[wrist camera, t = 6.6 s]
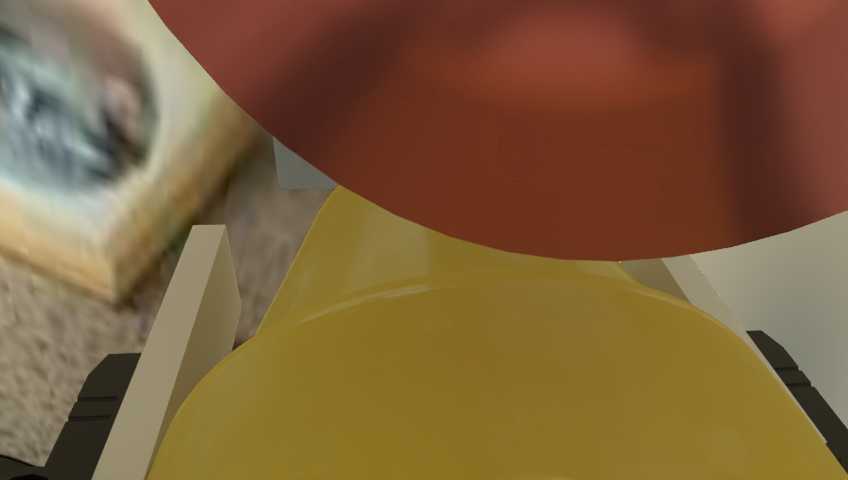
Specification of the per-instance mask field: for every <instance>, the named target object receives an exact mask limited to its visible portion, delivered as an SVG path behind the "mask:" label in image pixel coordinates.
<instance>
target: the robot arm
mask: <svg viewBox="0 0 848 480" xmlns="http://www.w3.org/2000/svg"><path fill="white" fill-rule="evenodd" d="M620 264H621V265H622V266H623V267H624V268H625V269H626V270H627V271H628V272H629V273H630V274H631V275H632V276H633V277H634V278H635V279H636V280H637V281H638V282H639V283H640V284H642V285H644V286H647V287H650V288H653V289H656V290H659V291H662V292H664V293H667V294H670V295H673V296H675V297H677V298H679V299H682V300H684V301H686V302H688V303H690V304H692V305H694V306H695V307H697V308H699V309H701V310H703V311H704V312H706V313H708V314H710V315H711V316H713V317H714V318H716V319H717V320H719V321H720V322H721V323H723V324H724V325H726V326H727V327H728V328H729V329H730V330H732V331H733V332H734V333H735V334H737V335H738V336H739V337H740V338H741V339H743V341H744V342H745V343H746V344H747V345H748V346H749V347H750V348H751V349H752V350H753V351H754V352H755V353H756V355H757V356H758V357H759V358H760V360H761V361H762V362H763V363H764V364H765V366H766V367H767V368H768V369H769V371H770V372H771V373H772V374H773V375H774V377H775V378H776V379H777V380H778V382H779V383H780V384H781V385H782V387H783V388H784V389H785V390H786V392H787V393H788V394H789V396H790V397H791V398H792V400H793V401H794V402H795V404H796V405H797V406H798V408H799V409H800V410H801V412H802V413H803V414H804V415H805V417H806V418H807V420H808V421H809V422H810V424H811V425H812V426H813V428H814V429H815V430H816V432H817V433H818V435H819V436H820V437H821V439H822V440H823V441H824V443H825V444H826V445H827V447H828V448H829V450H830V451H831V452H832V454H833V455H834V456H835V458H836V459H837V460H838V462H839V463H840V465H841V466H842V467H843V469H844V470H845V472H846V473H847V474H848V429H847V428H846V427H845V425H844V424H843V423H842V422H841V420H840V419H839V418H838V417H837V415H836V414H835V413H834V412H833V410H832V409H831V408H830V406H829V405H828V404H827V402H826V401H825V400H824V399H823V397H822V396H821V395H820V394H819V392H818V391H817V390H816V389H815V387H812V386H811V382H810V381H809V380H808V378H807V377H806V376H805V374H804V373H803V372H802V371H799V369H798V366H797V364H796V363H795V362H794V360H793V359H792V358H791V357H790V355H789V354H788V353H787V351H786V350H785V349H784V348H783V347H782V346H781V345H779V344H778V343H777V342H776V341H774V340H773V339H772V338H770V337H769V336H768V335H766V334H765V333H764V332H763V331H745V330H744V328H743V327H742V326H741V324H740V323H739V322H738V320H737V319H736V318H735V316H734V315H733V314H732V312H731V311H730V309H729V308H728V307H727V305H726V304H725V303H724V301H723V300H722V299H721V297H720V296H719V295H718V293H717V292H716V290H715V289H714V288H713V286H712V285H711V284H710V282H709V281H708V280H707V278H706V277H705V276H704V274H703V273H702V272H701V270H700V269H699V267H698V266H697V265H696V263H695V262H694V261H693V259H692V258H691V257H690V255H683V256H677V257H669V258H656V259H642V260H629V261H621V263H620ZM241 310H242V305H241V300H240V295H239V290H238V285H237V280H236V275H235V270H234V265H233V260H232V254H231V249H230V244H229V239H228V234H227V229H226V225H193V227H192V229H191V232H190V234H189V237H188V239H187V242H186V244H185V247H184V249H183V252H182V254H181V257H180V259H179V262H178V264H177V267H176V269H175V272H174V274H173V277H172V279H171V282H170V284H169V287H168V289H167V292H166V294H165V297H164V299H163V302H162V304H161V307H160V309H159V312H158V314H157V317H156V319H155V322H154V324H153V327H152V329H151V332H150V334H149V337H148V339H147V342H146V344H145V347H144V349H143V352H142V353H126V354H108V355H107V356H106V357H105V358H104V359H103V361H102V362H101V363H100V364H99V365H98V366H97V367H96V368H95V369H94V370H93V371H92V372H91V373H90V374H89V375H88V377H87V379H86V381H85V383H84V385H83V387H82V389H81V391H80V393H79V395H78V397H77V399H78V401H77V402H75V404H74V406H73V408H72V410H71V412H70V414H69V416H68V422H66V423H65V425H64V427H63V429H62V431H61V433H60V435H59V437H58V439H57V441H56V443H55V445H54V448H53V450H52V452H51V454H50V456H49V458H48V460H47V462H46V464H45V466H44V467H29V466H27V465H24V464H22V463H19V462H16V461H13V460H9V459H6V458H2V457H0V480H147V479H148V476H149V474H150V471H151V468H152V466H153V463H154V461H155V458H156V455H157V453H158V450H159V448H160V445H161V443H162V441H163V439H164V436H165V434H166V432H167V430H168V428H169V426H170V424H171V422H172V420H173V419H174V417H175V415H176V413H177V411H178V410H179V408H180V406H181V405H182V404H183V402H184V401H185V399H186V398H187V397H188V395H189V394H190V393H191V391H192V390H193V389H194V388H195V386H196V385H197V384H198V383H199V382H200V381H201V380H202V379H203V378H204V377H205V376H206V375H207V374H208V373H209V372H210V370H211V369H213V368H214V367H215V366H216V365H217V364H218V363H219V362H221V361H222V360H223V359H224V358H225V357H226V356H227V355H229V354H230V353H231V352H232V348H233V344H234V339H235V335H236V331H237V327H238V322H239V318H240V314H241Z"/></svg>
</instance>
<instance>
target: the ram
mask: <svg viewBox="0 0 848 480" xmlns="http://www.w3.org/2000/svg"><path fill="white" fill-rule="evenodd" d="M148 1H149V3H150V4H151V5H152V7H153V8H154V10H155V11H156V12H157V14H158V15H159V17H160V18H161V19H162V21H163V22H164V24H165V25H166V26H167V27H168V29H169V30H170V31H171V32H172V33H173V34H174V35H175V37H176V38H177V39H178V40H179V41H180V42H181V43H182V44H183V46H184V47H185V48H186V49H187V50H188V51H189V52H190V53H191V55H192V56H193V57H194V58H195V59H196V60H197V61H198V62H199V64H200V65H201V66H202V67H203V68H204V69H205V70H206V71H207V73H208V74H209V75H210V76H211V77H212V78H213V79H214V81H215V82H216V83H217V84H218V85H219V86H220V87H221V88H222V90H223V91H224V92H225V93H226V94H227V95H228V96H230V97H231V98H232V99H233V100H234V101H235V102H236V103H237V104H238V105H240V106H241V107H242V108H243V109H244V110H245V111H246V112H247V113H248V114H249V115H251V116H252V117H253V118H254V119H255V120H256V121H257V122H258V123H259V124H261V125H262V126H263V127H264V128H265V129H266V130H267V131H268V132H269V133H271V134H272V135H273V136H274V137H275V138H276V139H277V140H278V141H279V142H281V143H282V144H283V145H284V146H286V147H287V148H288V149H290V150H291V151H293V152H294V153H295V154H297V155H298V156H300V157H301V158H302V159H304V160H305V161H307V162H308V163H309V164H311V165H312V166H314V167H315V168H317V169H318V170H319V171H321V172H322V173H324V174H325V175H326V176H328V177H329V178H331V179H332V180H333V181H335V182H336V183H338V184H339V185H341V186H343V187H344V188H346V189H348V190H350V191H352V192H354V193H355V194H357V195H359V196H361V197H363V198H365V199H367V200H368V201H370V202H372V203H374V204H376V205H378V206H379V207H381V208H383V209H385V210H387V211H389V212H390V213H392V214H394V215H396V216H399V217H401V218H404V219H406V220H409V221H411V222H414V223H416V224H419V225H421V226H424V227H426V228H429V229H431V230H434V231H436V232H439V233H442V234H444V235H447V236H449V237H452V238H456V239H460V240H463V241H467V242H471V243H475V244H479V245H482V246H486V247H490V248H494V249H497V250H501V251H505V252H511V253H518V254H525V255H532V256H539V257H546V258H553V259H560V260H588V261H629V260H642V259H656V258H669V257H677V256H683V255H689V254H695V253H700V252H706V251H712V250H717V249H723V248H729V247H733V246H737V245H741V244H744V243H748V242H752V241H756V240H759V239H763V238H766V237H770V236H774V235H778V234H781V233H785V232H789V231H792V230H795V229H797V228H800V227H803V226H805V225H808V224H811V223H814V222H817V221H819V220H822V219H825V218H827V217H830V216H833V215H836V214H839V213H841V212H844V211H847V210H848V0H148Z"/></svg>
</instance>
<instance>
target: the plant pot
mask: <svg viewBox="0 0 848 480" xmlns="http://www.w3.org/2000/svg"><path fill="white" fill-rule="evenodd" d="M147 480H848V474H847V473H846V472H845V470H844V469H843V467H842V466H841V465H840V463H839V462H838V460H837V459H836V458H835V456H834V455H833V454H832V452H831V451H830V450H829V448H828V447H827V445H826V444H825V443H824V441H823V440H822V439H821V437H820V436H819V435H818V433H817V432H816V430H815V429H814V428H813V426H812V425H811V424H810V422H809V421H808V420H807V418H806V417H805V415H804V414H803V413H802V412H801V410H800V409H799V408H798V406H797V405H796V404H795V402H794V401H793V400H792V398H791V397H790V396H789V394H788V393H787V392H786V390H785V389H784V388H783V387H782V385H781V384H780V383H779V382H778V380H777V379H776V378H775V377H774V375H773V374H772V373H771V372H770V371H769V369H768V368H767V367H766V366H765V364H764V363H763V362H762V361H761V360H760V358H759V357H758V356H757V355H756V353H755V352H754V351H753V350H752V349H751V348H750V347H749V346H748V345H747V344H746V343H745V342H744V341H743V339H741V338H740V337H739V336H738V335H737V334H735V333H734V332H733V331H732V330H730V329H729V328H728V327H727V326H726V325H724V324H723V323H721V322H720V321H719V320H717V319H716V318H714V317H713V316H711V315H710V314H708V313H706V312H704V311H703V310H701V309H699V308H697V307H695V306H694V305H692V304H690V303H688V302H686V301H684V300H682V299H679V298H677V297H675V296H673V295H670V294H667V293H664V292H662V291H659V290H656V289H653V288H650V287H647V286H644V285H642V284H640V283H639V282H638V281H637V280H636V279H635V278H634V277H633V276H632V275H631V274H630V273H629V272H628V271H627V270H626V269H625V268H624V267H623V266H622V265H621V264H620V263H619V261H588V260H560V259H553V258H546V257H539V256H532V255H525V254H518V253H511V252H505V251H501V250H497V249H494V248H490V247H486V246H482V245H479V244H475V243H471V242H467V241H463V240H460V239H456V238H452V237H449V236H447V235H444V234H442V233H439V232H436V231H434V230H431V229H429V228H426V227H424V226H421V225H419V224H416V223H414V222H411V221H409V220H406V219H404V218H401V217H399V216H396V215H394V214H392V213H390V212H389V211H387V210H385V209H383V208H381V207H379V206H378V205H376V204H374V203H372V202H370V201H368V200H367V199H365V198H363V197H361V196H359V195H357V194H355V193H354V192H352V191H350V190H348V189H346V188H344V187H343V186H341V185H338V186H337V187H336V188H335V189H334V190H333V192H332V193H331V194H330V195H329V197H328V198H327V199H326V201H325V202H324V204H323V205H322V207H321V208H320V210H319V211H318V213H317V215H316V217H315V219H314V221H313V223H312V225H311V227H310V229H309V231H308V233H307V235H306V237H305V239H304V241H303V243H302V245H301V247H300V249H299V250H298V252H297V254H296V256H295V258H294V260H293V262H292V264H291V266H290V268H289V270H288V272H287V274H286V276H285V278H284V280H283V282H282V283H281V285H280V287H279V289H278V291H277V293H276V295H275V297H274V298H273V300H272V302H271V304H270V306H269V308H268V310H267V312H266V314H265V316H264V318H263V319H262V321H261V323H260V325H259V327H258V329H257V331H256V333H255V334H254V336H253V337H252V338H250V339H249V340H247V341H246V342H244V343H243V344H242V345H240V346H239V347H238V348H236V349H235V350H233V351H232V352H231V353H230V354H229V355H227V356H226V357H225V358H224V359H223V360H222V361H221V362H219V363H218V364H217V365H216V366H215V367H214V368H213V369H211V370H210V372H209V373H208V374H207V375H206V376H205V377H204V378H203V379H202V380H201V381H200V382H199V383H198V384H197V385H196V386H195V388H194V389H193V390H192V391H191V393H190V394H189V395H188V397H187V398H186V399H185V401H184V402H183V404H182V405H181V406H180V408H179V410H178V411H177V413H176V415H175V417H174V419H173V420H172V422H171V424H170V426H169V428H168V430H167V432H166V434H165V436H164V439H163V441H162V443H161V445H160V448H159V450H158V453H157V455H156V458H155V461H154V463H153V466H152V468H151V471H150V474H149V476H148V479H147Z"/></svg>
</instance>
